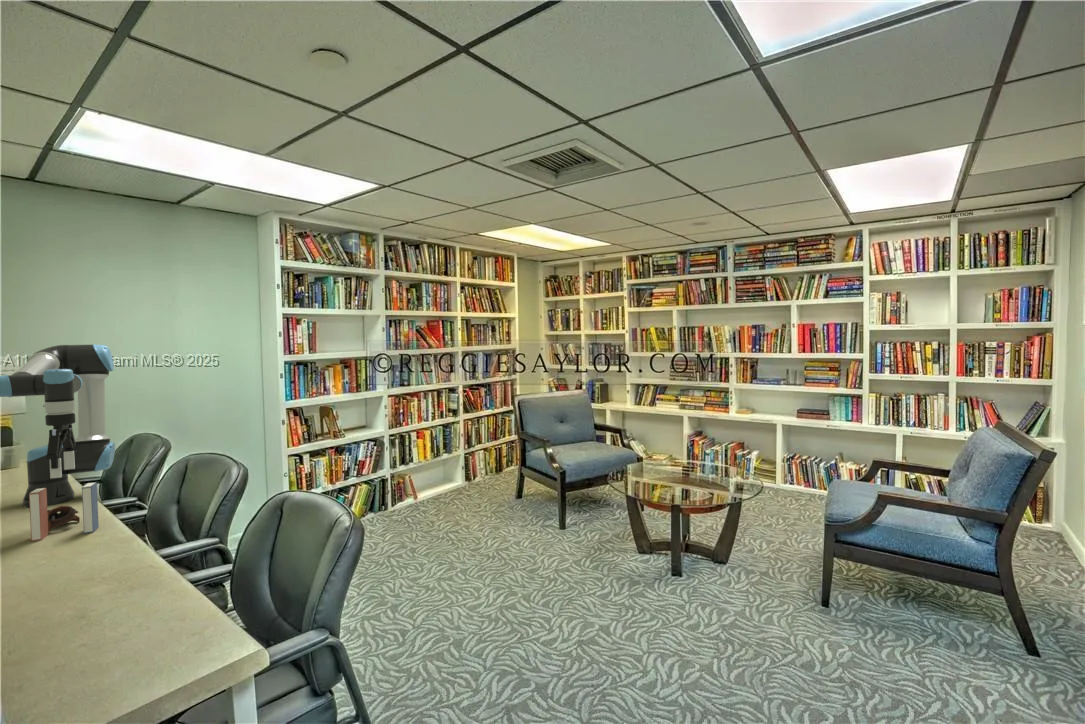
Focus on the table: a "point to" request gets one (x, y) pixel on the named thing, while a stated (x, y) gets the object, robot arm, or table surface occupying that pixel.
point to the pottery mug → (61, 516)
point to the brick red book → (38, 514)
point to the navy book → (90, 507)
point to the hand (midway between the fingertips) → (63, 473)
